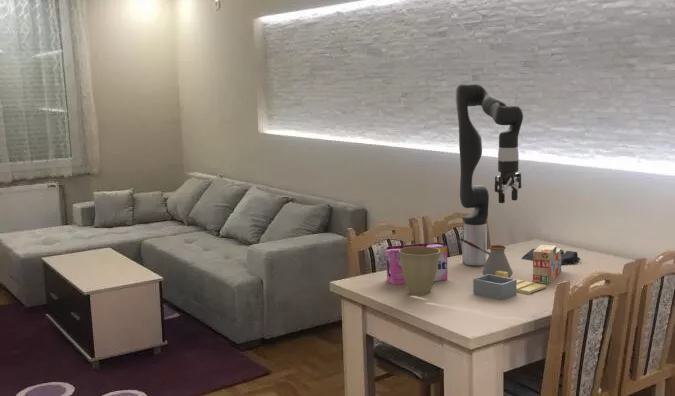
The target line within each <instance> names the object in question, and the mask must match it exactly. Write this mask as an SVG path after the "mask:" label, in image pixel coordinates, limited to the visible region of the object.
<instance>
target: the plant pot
mask: <svg viewBox="0 0 675 396" xmlns="http://www.w3.org/2000/svg"><path fill="white" fill-rule="evenodd" d="M399 256H400V262H401V267H402V272H403V276H404V279H405V282H406V284H405V285H406V288H407V291H408V293H409V294H410V295H411V294H412V295H415V296H416V295H421V296H423V295H428V294H430V293H431V291H432V288H433V285H434V282H435V281H434V279H435V276H436V272H437V268H438V263H439V256H440V250H439V249H437V248H432V247H420V246H417V247H405V248H402V249H400V250H399Z"/></svg>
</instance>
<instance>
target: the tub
mask: <svg viewBox="0 0 675 396" xmlns="http://www.w3.org/2000/svg"><path fill="white" fill-rule="evenodd" d="M472 280H473V281H472V282H473V283H472V284H473V286H472V287H473V288H472V289H473V290H472V293H473V295H477V296H483V297H487V298H491V299H495V300H501V301H503V300H506V299H508V298H510V297H511V298H512V297H513V296H516V295H517V292H516V290H517V280H518V279H517V280H516V278H511V277H510V278H506V277H501V276H496V275H490V274H487V275H481V276H478V277H475V278H473V279H472Z"/></svg>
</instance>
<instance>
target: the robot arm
mask: <svg viewBox="0 0 675 396" xmlns="http://www.w3.org/2000/svg"><path fill="white" fill-rule="evenodd" d="M454 94H455V96H454V97H455V98H454V99H455V107H456V113H457V121H458V122H457V123H458V145H459V146H458V147H459V160H460V161H459V162H460V164H459V165H460V184H459V199H460V203H461V207H463V208H464V209H472V208H474V209H473V211H472V212H471V213H469V214H467V215H465V216H464V217H463V218H464V219H463V223H464V230H463V232H464V233H463V234H464V237H463V239H464V240H467V241H468V242H471V243H473V244H475V245H476V246H478V247H480V248H481V249H483V250H486V251H488V250H487V249H488V248H487V242H488V241H487V233H488V231H487V226H488V224H487V220H488V217H489V203H490V202H489V201H490V200H489V199H490V195H489V191H488V188H487V187H486V186H485V185H483V184H476V185H473V177H474V172H475V169H476V167H477V165H478V164H479V162H480V159H482V155H483V143H482V136H481V134H480V132H479V131H478V129H477V127H476V126H475V125H474V123H473V122H472V119H471V117H470V114H469V109H468V108H469V107H476V106H477V107H478V106H480V107H481V108H482V111H483V112H484V114H486V115H487V116H489V117H491V118H492V120H493V121H494V122H495V124H496V125H499V126H509V127H508V128H507V130H504V131H502V132H500V133H499V135H498V153H497V157H498V159H497V172H499V173H500V175H495V177H494V193H498V194H497V195H498V203H499V204H505V201H506V199H505V198H506V197H505V196H506V194H505V192H506V189H507V190H508V187H510V188H511V201H517V200H518V198H519V197H518V193H519V190H520V189H522V173H521V172H519V163H520V162H519V153H520V152H519V134H520V129H521V127H522V123H523V120H524V113H523V110H522V109H521V106H518V105H511V106H509V105H508V106H507V104H506V103H504V101H502V100H500V99H498V98H496V97H494V96H493V95H491V93H490V92H489V91H487V90H486V89H485V88H484V87H483V86H482V85H481V84H478V83H465V84H464V83H463V84H458V85H457V87H456V89H455V93H454ZM461 242H462V247H461V248H462V263H463V264H465V265H468V266H476V267H477V266H485V264H486V261H487V259H488V258H487V255H488V254H486V253H485V252H483V251H481V250H479V249H476V248H474V247H472V246H470V245H468V244H467V243H464V241H461Z"/></svg>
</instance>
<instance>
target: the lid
mask: <svg viewBox="0 0 675 396" xmlns="http://www.w3.org/2000/svg"><path fill="white" fill-rule="evenodd" d="M495 275H496V276H501V277H506V278H508V272H505V271H496V272H495ZM515 279H516V278H515ZM516 280H517V290H516V293H519V294H520V293H521V294H525V295H531V294H532V293H535V292H537V291H540V290H542V289H546V288H547V286H546V284H543V283H537V282H533V281H532V282H531V281H528V280H527V281H526V280H525V279H523V280H522V279H518V278H517V279H516Z"/></svg>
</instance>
